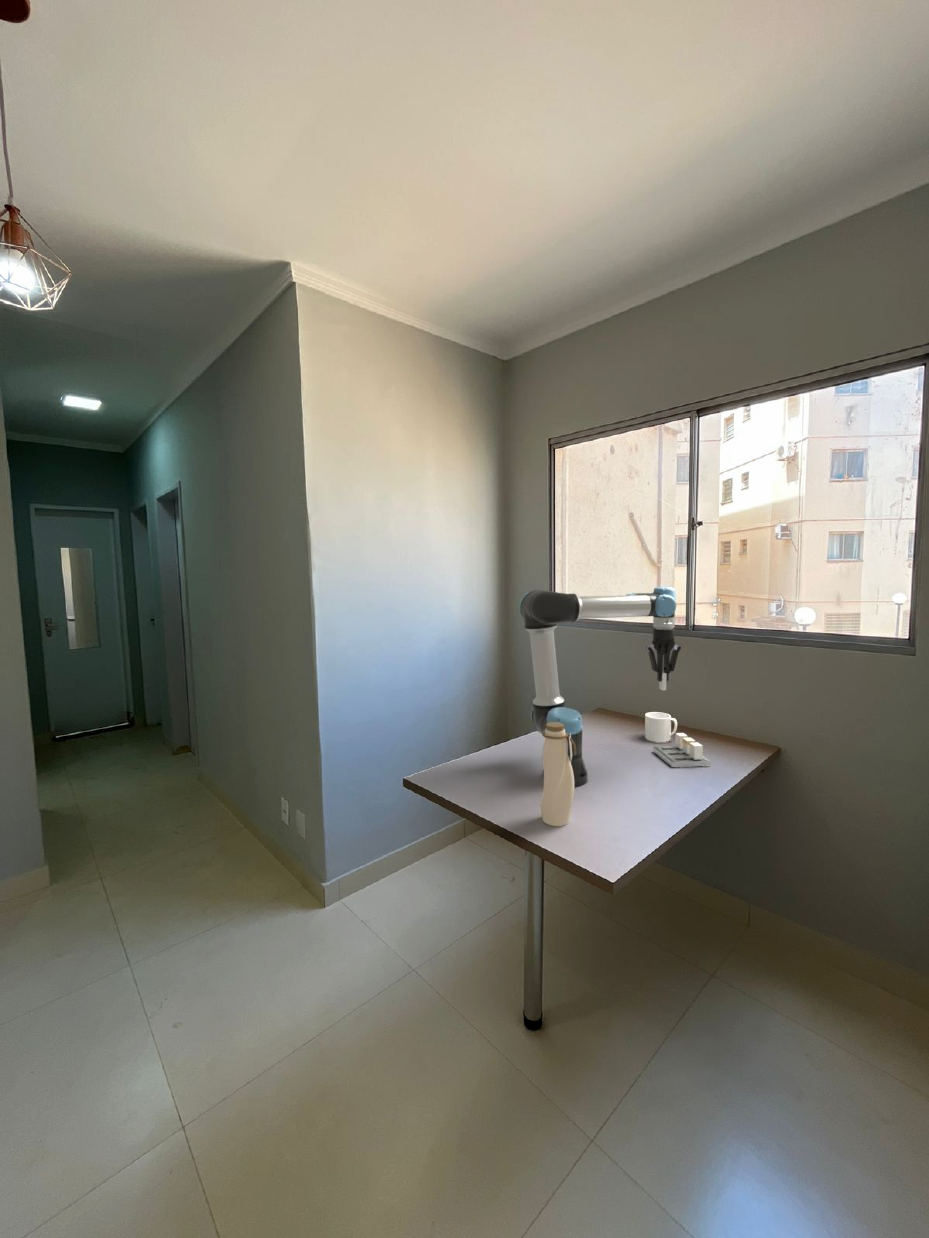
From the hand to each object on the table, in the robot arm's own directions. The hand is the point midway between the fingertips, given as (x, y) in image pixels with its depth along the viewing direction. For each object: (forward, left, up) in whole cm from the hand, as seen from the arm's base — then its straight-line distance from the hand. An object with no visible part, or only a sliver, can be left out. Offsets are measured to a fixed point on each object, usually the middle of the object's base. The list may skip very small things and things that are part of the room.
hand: (662, 689), depth 191 cm
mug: (+6, +15, -25) cm, 30 cm away
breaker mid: (+7, -6, -23) cm, 25 cm away
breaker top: (+7, -1, -23) cm, 24 cm away
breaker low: (+7, -12, -23) cm, 27 cm away
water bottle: (-52, -47, -25) cm, 75 cm away
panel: (+4, -6, -25) cm, 26 cm away
